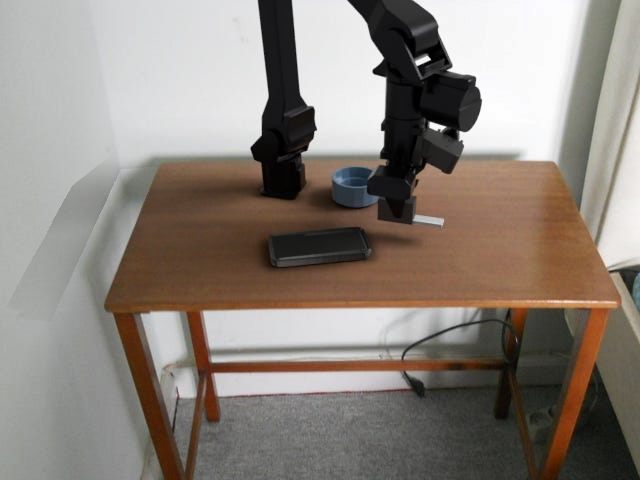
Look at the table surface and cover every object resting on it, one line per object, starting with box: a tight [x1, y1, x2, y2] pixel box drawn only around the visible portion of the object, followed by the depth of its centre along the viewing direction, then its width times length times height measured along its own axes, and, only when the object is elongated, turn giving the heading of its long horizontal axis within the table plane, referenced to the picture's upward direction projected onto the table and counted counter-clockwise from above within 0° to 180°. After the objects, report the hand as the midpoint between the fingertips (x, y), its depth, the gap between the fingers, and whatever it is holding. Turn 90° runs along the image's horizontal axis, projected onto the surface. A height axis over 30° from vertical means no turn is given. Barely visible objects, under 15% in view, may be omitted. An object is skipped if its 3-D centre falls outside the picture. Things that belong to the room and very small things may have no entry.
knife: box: [376, 195, 445, 229], centre depth 103 cm, size 10×3×4 cm, turn 75°
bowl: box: [331, 165, 379, 209], centre depth 114 cm, size 8×8×4 cm
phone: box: [267, 226, 372, 268], centre depth 102 cm, size 8×1×15 cm
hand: (399, 213), depth 104 cm, fingers closed on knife, 2 cm apart
